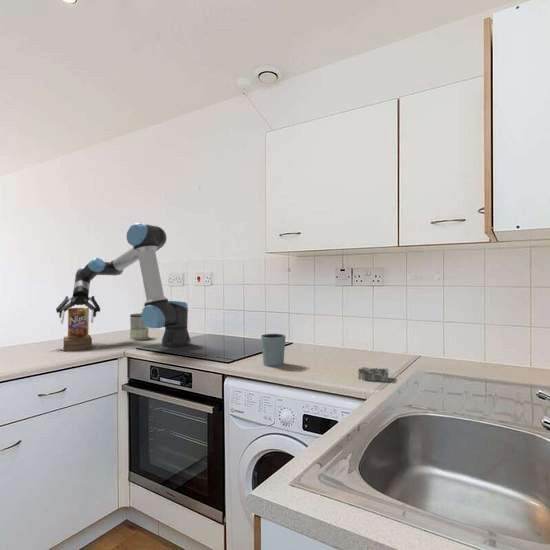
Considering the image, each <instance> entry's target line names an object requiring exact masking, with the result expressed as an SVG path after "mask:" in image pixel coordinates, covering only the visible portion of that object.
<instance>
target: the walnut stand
mask: <svg viewBox="0 0 550 550" xmlns="http://www.w3.org/2000/svg"><path fill="white" fill-rule="evenodd" d="M90 349H91V350H92V349H93V338H92V337H91V335H90V334H88V337H87V338H68V335H67V336H66V335H65V336H63V351H79V350H90Z"/></svg>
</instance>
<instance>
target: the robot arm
mask: <svg viewBox="0 0 550 550" xmlns="http://www.w3.org/2000/svg"><path fill="white" fill-rule="evenodd" d="M126 242H127V243H128V244H129V245H130V246H132V247H131V248H130V249H128V250H127V251H125V252H123V254H120V255H119V256H117V257H116V258H115V259H113V260H111V261H104V260H103V259H102V258H100V257H94V258H93V259H91V260H90V261H89V262H88V263H86V265H85V266H82V267H79V268H78V269H77V270H76V273H75V279H74V285H73V291H72V292H73V293H72V296H71V297H69V296H68V295H66V296H65V298H64V300H62V301H61V303H60V304H59V305H58V306H57V307H56V308H55V311H56V313H58V315H59V316H58V317H59V319H60V323H61V325H63V324H64V320H65V315H66V314H65V312H68V308H73V307H75V306H83V305H84V306H85V307H86V308H89V310H91V316H90V317H91V318H90V323H91V324H93V323H94V318H96V317H97V313H98V312H99V313H100V312H101V307H100V305H99V304H98V302H97V301H96V298H95V296H94V295H92V296H90V297H89V295H90V294H89V293H90V285H91V281H92V280H93V279H95V277H97V276H114V277H115V276H120V275H122V274H123V272H124V270H125V269H127V268H128V267H129V266H131V265H133V264H134V263H136V262H137V261H139V262H138V263H139V267H140V272H141V278H142V282H143V288H144V294H145V298H146V299H145V302H144V303H143V304H144V305H143V306H144V307H143V308H142V310H141V311H142V312H140V314H141V317H142V321H143V323H144V324H145V325H146V326H148V329H161V328H164V332H163V336H162V339H161V346H163V347H170V348H171V347H184V346H185V347H186V346H189V345H191V342H192V341H191V337H190V334H189V330H188V322H189V321H188V318H189V317H188V311H189V310H188V303H187V301H186V302H185V301H176V300H169V298H167V297H166V296H165V295H164V289H163V285H162V279H161V273H160V269H159V264H158V259H157V253H156V252H157V251H158V250H159V251H160V249H161V248H163V247H164V245H166V242H167V233H166V232H165V230H164V229H163V228H162V227H160V226H157V225H152V224H146V223H139V222H136V223H133V224H132V225H130V227H128V230H127V232H126ZM90 301H91V302H92V304H91V303H90Z"/></svg>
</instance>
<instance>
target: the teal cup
mask: <svg viewBox="0 0 550 550" xmlns="http://www.w3.org/2000/svg"><path fill="white" fill-rule="evenodd" d="M260 337H261V338H260V339H261V349H262V365H263V366H265V367H272V368H274V367H282V366H284V364H285V349H286V347H285V345H286V335H285V334H283V333H282V334H281V333H265V334H261V336H260Z"/></svg>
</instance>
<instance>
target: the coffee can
mask: <svg viewBox="0 0 550 550" xmlns="http://www.w3.org/2000/svg"><path fill="white" fill-rule="evenodd" d="M129 316H130V334H129V335H130V337H129V339H130V340H145V339H146V340H147V339H149V327H148V326H146V325H145V324H144V323H143V321H142V317H141V313H132V314H130V315H129Z"/></svg>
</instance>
